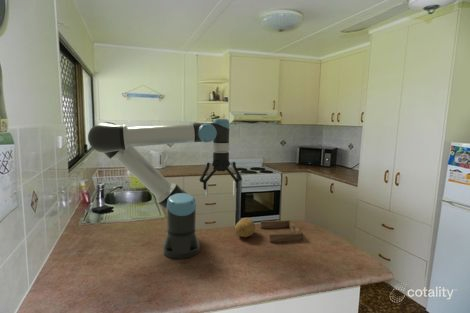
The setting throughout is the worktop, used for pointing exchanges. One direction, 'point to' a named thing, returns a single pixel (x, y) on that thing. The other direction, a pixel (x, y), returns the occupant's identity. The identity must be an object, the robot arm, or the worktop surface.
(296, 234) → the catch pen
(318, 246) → the worktop surface
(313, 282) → the worktop surface
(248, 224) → the potato
